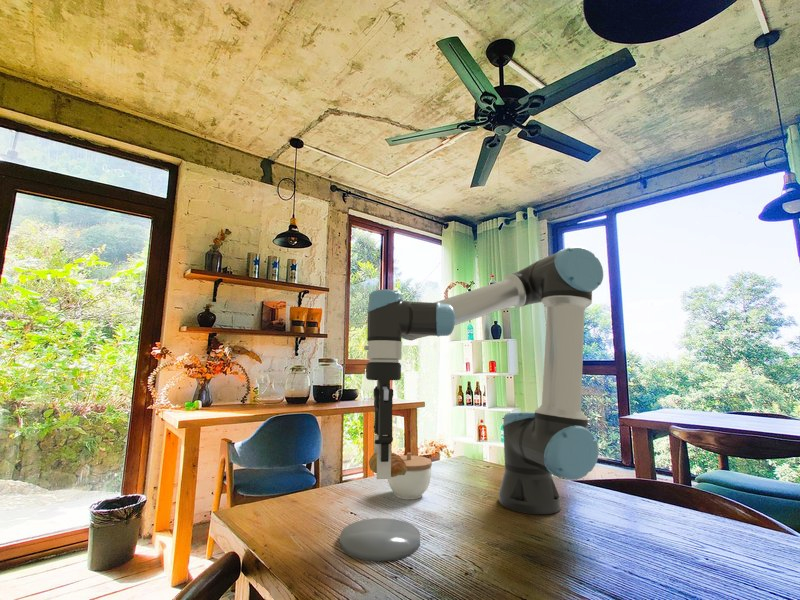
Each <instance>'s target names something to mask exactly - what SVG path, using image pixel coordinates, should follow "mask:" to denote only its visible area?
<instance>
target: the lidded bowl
mask: <svg viewBox="0 0 800 600" xmlns="http://www.w3.org/2000/svg"><path fill="white" fill-rule="evenodd" d="M399 456H400V457H401V459H403V460H404V462H405V464H406V468H407V471H406V473H405V475H398V476H395V477H391V479H387V483H388V487H390V490H391V491H392V492H393V493H394V494H395V497H396V498H398V499H402V500H410V501H411V500H417V499H420V498H422V497H423V494H424V493H425V492H426V491H427V490H428V488H429V485H430V483H431V480H432V479H431V478H432V465H433V462H432V460H431V459H430V458H428V457H427V456H421V455H412V452H406V455H404V454H403V455H402V454H401V455H399Z"/></svg>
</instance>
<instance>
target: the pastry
mask: <svg viewBox="0 0 800 600" xmlns="http://www.w3.org/2000/svg"><path fill="white" fill-rule="evenodd" d="M400 456H401V455H399V454H397V453H395V452H391V477H395V476H398V475H405V473H406V471H407V468H406V464H405V462H404V460H403V459H401V457H400ZM368 466H369V469H370V471H372V472H373V473H375V474H376V475H377V453H374V452H373V455H372V456H371V457H370V459H369V461H368Z"/></svg>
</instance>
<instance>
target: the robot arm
mask: <svg viewBox="0 0 800 600" xmlns="http://www.w3.org/2000/svg"><path fill="white" fill-rule="evenodd" d="M603 279H604V269H603V266H602V263H601V261H600V259H599V258H598V257H597V256H596V255H595V253H593V252H592V251H591V250H590V249H588V248H586V247H583V246H577V245H576V246H570V247H567V248H564V249H562V248H561V249H560V250H558V251H557V252H555V253H553V254H551V255H549V256H546V257H544V258H541V259H539V260H537V261H535V262H533V263H531V264H530V265H527V266H526V267H524V268H523V269H520V270H519V271H516V272H514V273H510V274H508V275H506V276H505V278H504V279H503V280H501V281H500V280H499V281H498V282H497V281H496V282H494V283H491V284H487V285H484V286H481V287H479V288H475V289H472V290H469V291H466V292H463V293H459V294H457V295H453V296H450V297H446V298H444V299H441V300H439V301H435V302H427V301H425V302H423V301H408V300H404V299H403V294H402V292H401V291H398V290H394V289H378V290H377V289H376V290H373V291H372V292H371V293H369V295H368V305H367V306H368V307H367V312H366V314H367V321H366V322H367V324H366V326H367V331H366V333H367V335H366V336H367V339H366V344H367V345H364V347H363V349H364V351H366V359H367V360H368V361H369V362H367V363H366V364H365V366H366V367H365V370H366V371H365V378H366V379H367V381H368V380H369V381H377V382H376V386H375V387H374V388H373V397H374V399H373V407H374V423H373V432H374V436H373V437H374V439H373V454H374V453H377V474H376V480H388V479H391V453H392V443H393V440H394V437H393V406H394V405H393V404H394V403H393V398H394V389H393V388H391V381H400V380H401V378H402V364H401V362H399V361H400V360H402V346H403V343H402V339H404V340H406V341H414V340H418V339H421V338H425V337H432V336H433V337H435V336H436V337H448V336H450V335H451V334H453V331H454V330H455V329H454V328H455V327H456V326H457V325H461V324H463V323H466V322H469V321H473V320H474V319H475V320H476V319H479V318H481V317H484V316H487V315H489V314H493V313H496V312H498V311H502V310H504V309H509V308H510V307H515V308H522V307H525V306H528V305H533V304H538V303H541V304H543V305H544V306H545V307H546V310H547V311H546V323H545V344H544V359H543V360H544V361H543V378H542V393H541V394H542V395H541V405H540V406H539V407H537V408H536V409H535V410H534V411H532V412H530V411H529V412H527V411H526V412H525V411H524V412H507V413H505V415H504V416H503V424H502V429H503V450H504V451H503V452H504V454H503V455H504V473H503V477H502V480H501V483H500V487H499V490H498V491H499V492H498V502H499V504H500V505H501V506H503V507H504V508H506V509H509V510H510V511H515V512H518V513H522V514H528V515H550V514H551V515H552V514H556V513H557V512H559V511H560V510H562V509H561V508H562V507H561V506H562V505H561V498H560V494H559V491H558V489H557V486H556V483H555V481H554V478H553V476H554V477H556V478H562V479H566V480H569V481H570V480H571V481H574V480H581V479H583V478H585V477H586V476H587V475H588V474H589V473H590V472H592V471H593V469H594V468H595V466H596V464H597V462H598V459H599V454H600V453H599V451H600V449H599V444H598V441H597V439H596V438H595V437H594V433H592V431H590V430H589V425H588V423H589V419H588V417H587V416H586V415H585V413H584V412H583V410H582V391H583V389H582V387H583V363H584V362H583V359H584V337H585V336H584V335H585V334H584V333H585V331H584V330H585V310H587V308H589V307H590V305H592V303H593V300H592V299H593V291H595V290H596V289H597V288H599V286H601V284H602V283H603Z"/></svg>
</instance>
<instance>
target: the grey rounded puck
mask: <svg viewBox="0 0 800 600" xmlns="http://www.w3.org/2000/svg"><path fill="white" fill-rule="evenodd" d="M339 546H340V548H341V550H342V552H343V553H345V554H347V555H348V556H351V557H353V558H355V559H359V560H363V561H368V562H369V561H370V562H390V561H396V560H401V559H403V558H406V557H409V556H412V555H413V554H414V553H416V552H417V550H419V548H420V546H421V532H420V530H419V528H418V527H416V526H415V525H413V524H412V523H409V522H407V521H405V520H404V521H403V520H400V519H395V518H386V517H385V518H382V517H379V518H368V519H362V520H357V521H355V522H352V523H350V524H348V525H346V526H345V527H344V528H342V530H341V532H340V535H339Z"/></svg>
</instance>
